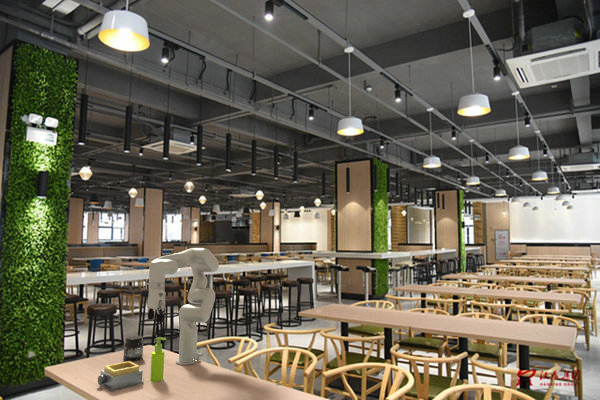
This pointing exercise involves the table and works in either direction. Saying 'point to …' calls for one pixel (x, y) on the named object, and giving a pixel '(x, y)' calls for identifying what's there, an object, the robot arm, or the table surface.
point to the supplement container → (133, 348)
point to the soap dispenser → (157, 362)
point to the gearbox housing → (120, 376)
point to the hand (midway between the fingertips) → (155, 320)
